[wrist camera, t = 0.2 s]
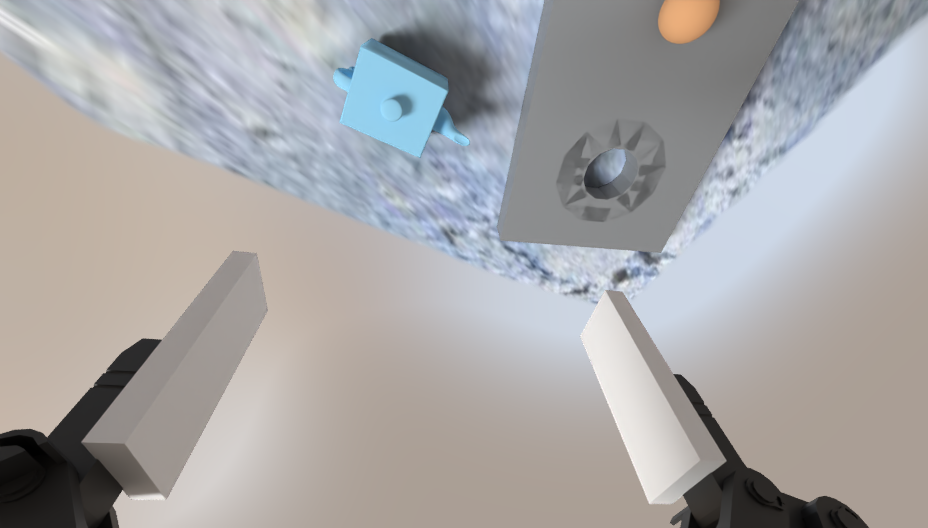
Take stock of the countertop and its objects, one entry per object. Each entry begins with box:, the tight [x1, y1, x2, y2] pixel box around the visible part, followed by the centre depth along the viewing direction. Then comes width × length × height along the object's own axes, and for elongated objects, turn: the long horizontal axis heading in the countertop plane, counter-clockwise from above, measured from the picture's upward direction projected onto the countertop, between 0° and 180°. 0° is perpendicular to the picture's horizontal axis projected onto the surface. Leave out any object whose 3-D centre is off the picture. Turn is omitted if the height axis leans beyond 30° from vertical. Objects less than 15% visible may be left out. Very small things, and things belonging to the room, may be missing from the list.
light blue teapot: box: [333, 38, 470, 158], centre depth 32 cm, size 12×6×8 cm, turn 64°
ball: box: [658, 0, 720, 44], centre depth 28 cm, size 4×4×4 cm
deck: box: [497, 0, 799, 253], centre depth 35 cm, size 30×20×3 cm, turn 173°
